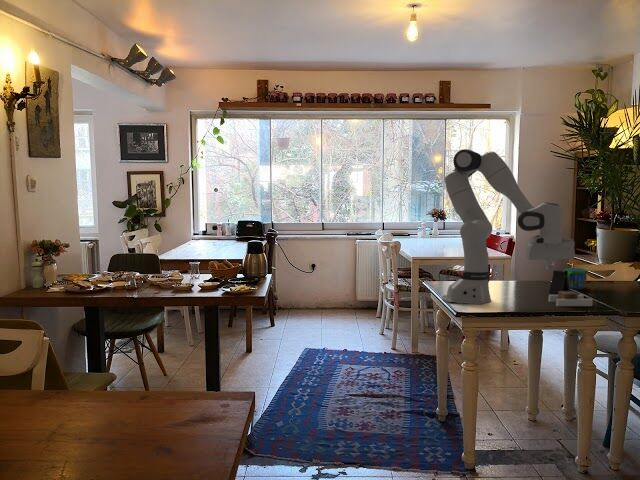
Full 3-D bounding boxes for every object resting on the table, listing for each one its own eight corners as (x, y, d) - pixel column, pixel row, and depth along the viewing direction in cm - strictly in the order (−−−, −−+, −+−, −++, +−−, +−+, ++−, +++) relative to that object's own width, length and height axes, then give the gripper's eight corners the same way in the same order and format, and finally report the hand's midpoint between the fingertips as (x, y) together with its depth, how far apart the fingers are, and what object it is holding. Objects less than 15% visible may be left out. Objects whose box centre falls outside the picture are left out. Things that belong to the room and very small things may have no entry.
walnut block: (563, 305, 226) (564, 293, 226) (558, 302, 232) (558, 291, 232) (577, 305, 226) (577, 293, 225) (571, 302, 232) (571, 291, 231)
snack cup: (573, 291, 260) (574, 272, 259) (556, 288, 269) (557, 269, 268) (594, 288, 266) (595, 269, 265) (577, 285, 276) (577, 266, 275)
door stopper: (559, 295, 252) (560, 271, 250) (548, 293, 257) (549, 269, 256) (570, 293, 256) (571, 269, 255) (559, 291, 261) (560, 268, 260)
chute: (557, 308, 224) (557, 299, 224) (548, 303, 234) (548, 294, 234) (592, 308, 224) (592, 299, 223) (581, 303, 234) (582, 294, 233)
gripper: (571, 237, 229) (570, 267, 230) (525, 238, 230) (524, 268, 231) (577, 238, 223) (577, 269, 224) (530, 239, 224) (530, 270, 225)
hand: (550, 269), depth 228 cm, fingers closed
